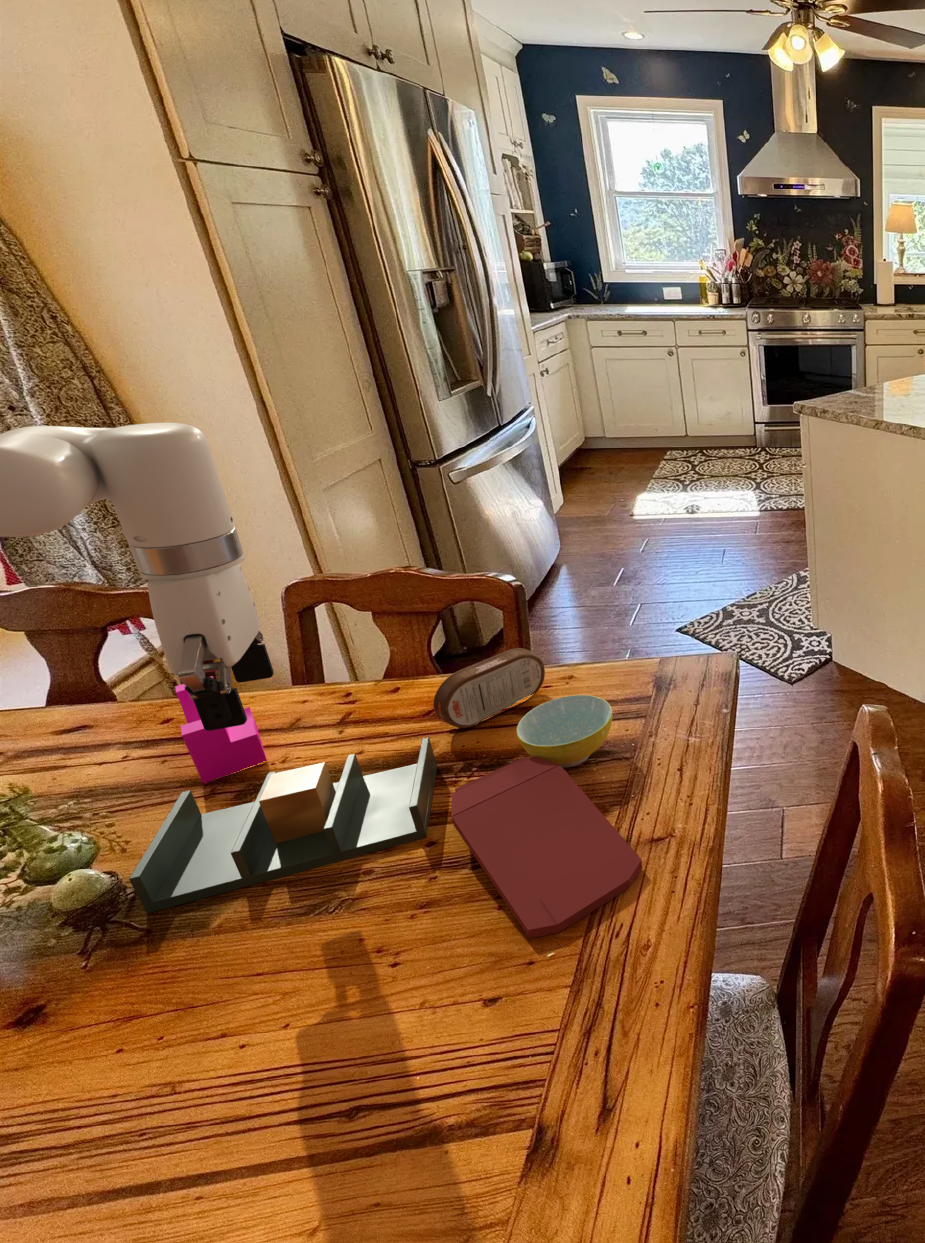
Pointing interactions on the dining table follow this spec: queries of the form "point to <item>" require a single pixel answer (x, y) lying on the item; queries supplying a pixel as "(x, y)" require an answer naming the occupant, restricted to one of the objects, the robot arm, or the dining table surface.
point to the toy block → (219, 742)
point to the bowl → (566, 729)
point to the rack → (247, 853)
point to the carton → (543, 844)
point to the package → (297, 801)
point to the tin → (488, 687)
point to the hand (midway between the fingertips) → (242, 701)
